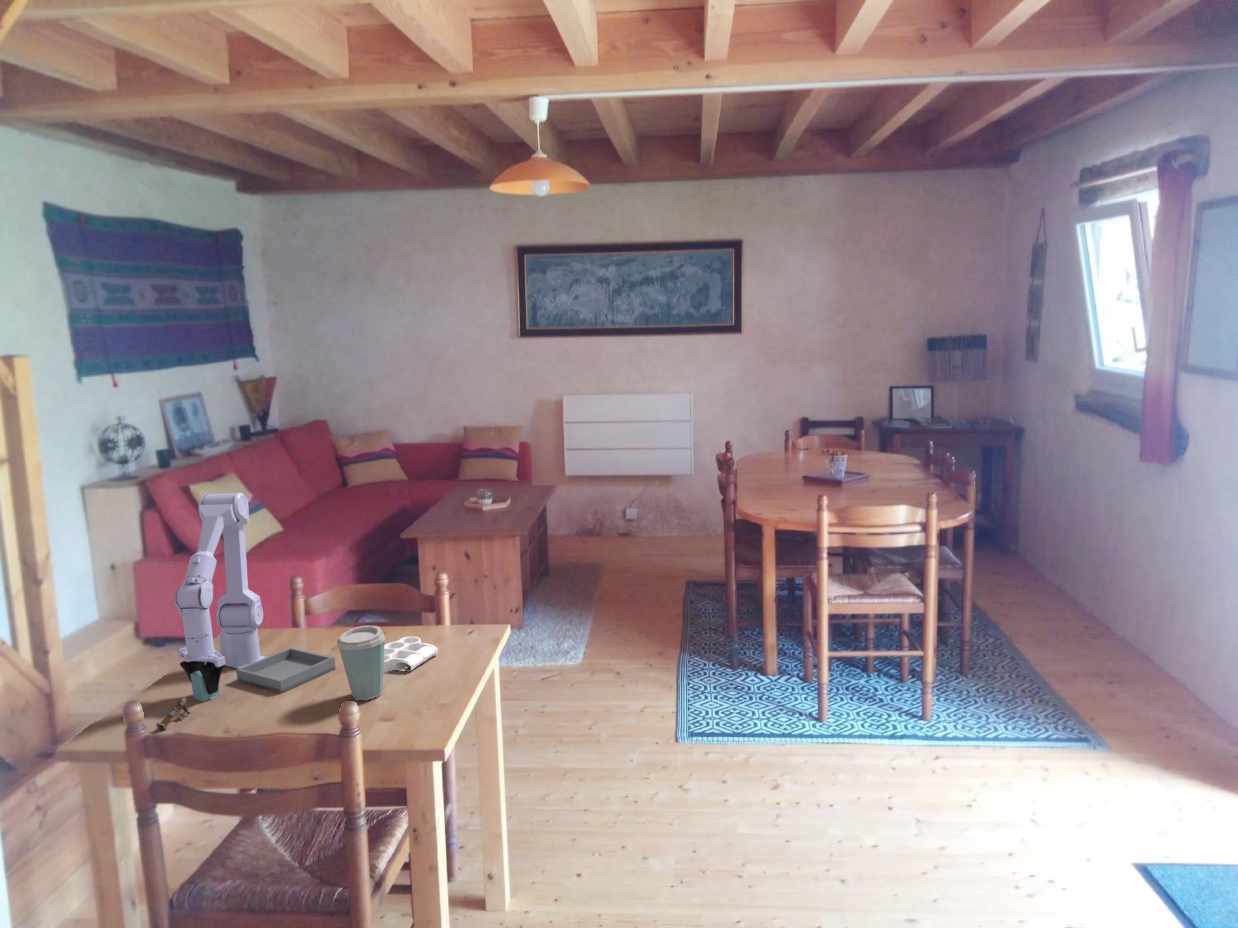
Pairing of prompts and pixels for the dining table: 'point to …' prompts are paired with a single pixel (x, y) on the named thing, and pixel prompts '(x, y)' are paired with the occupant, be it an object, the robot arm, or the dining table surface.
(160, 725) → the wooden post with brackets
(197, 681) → the block
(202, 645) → the robot arm
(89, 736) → the dining table surface
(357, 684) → the disposable coffee cup
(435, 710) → the dining table surface
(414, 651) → the white muffin tin
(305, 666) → the tray
